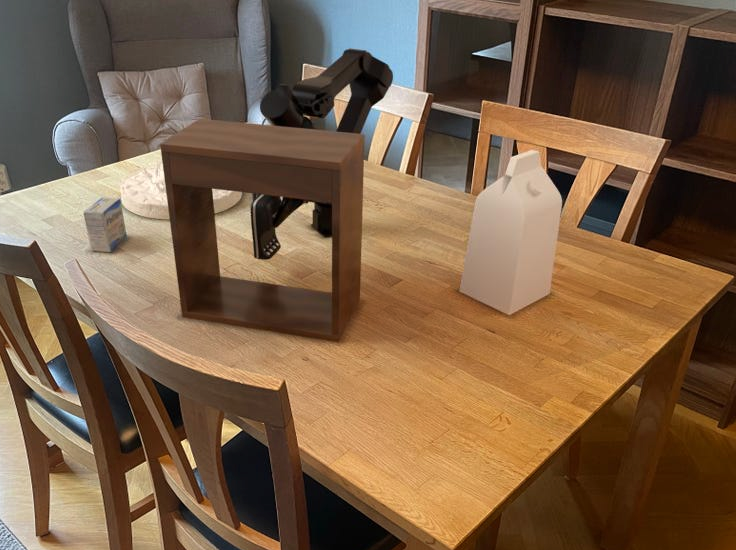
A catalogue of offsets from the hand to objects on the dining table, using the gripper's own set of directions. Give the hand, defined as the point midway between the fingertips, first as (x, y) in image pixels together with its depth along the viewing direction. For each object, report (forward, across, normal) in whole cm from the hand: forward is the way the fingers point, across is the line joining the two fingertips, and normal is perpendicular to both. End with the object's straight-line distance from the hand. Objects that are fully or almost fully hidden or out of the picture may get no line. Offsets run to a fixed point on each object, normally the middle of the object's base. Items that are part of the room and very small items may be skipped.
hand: (264, 224), depth 135 cm
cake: (-10, -39, +26) cm, 48 cm away
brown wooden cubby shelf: (+15, +7, 0) cm, 17 cm away
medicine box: (+10, -37, +6) cm, 38 cm away
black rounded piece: (+4, 0, +6) cm, 7 cm away
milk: (-3, +42, +19) cm, 46 cm away
